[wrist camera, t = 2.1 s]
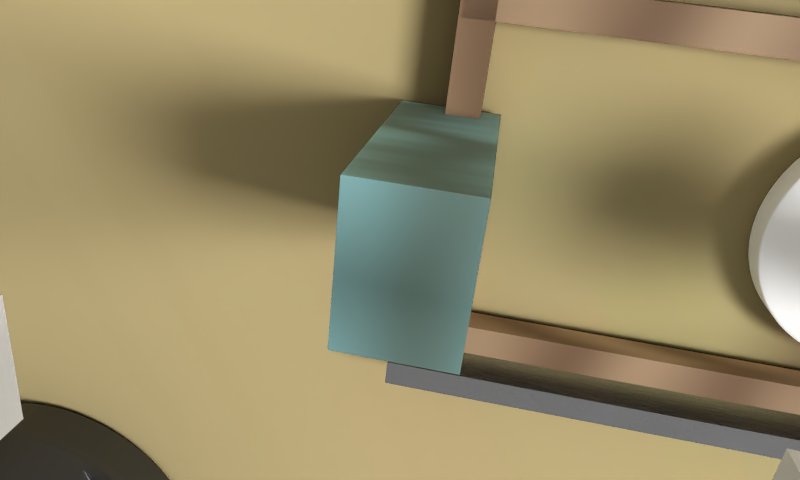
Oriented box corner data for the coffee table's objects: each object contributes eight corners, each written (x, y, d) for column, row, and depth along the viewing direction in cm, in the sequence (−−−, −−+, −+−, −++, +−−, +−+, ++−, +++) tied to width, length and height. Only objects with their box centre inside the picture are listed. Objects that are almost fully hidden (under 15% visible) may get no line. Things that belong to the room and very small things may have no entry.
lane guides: (393, 355, 28) (385, 382, 27) (448, -87, 21) (441, -91, 19) (1022, 473, 26) (1060, 513, 24) (1330, 12, 18) (1418, 17, 17)
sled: (378, 320, 27) (318, 473, 19) (416, -30, 22) (354, -24, 14) (1011, 436, 25) (1253, 670, 17) (1244, 70, 19) (1788, 154, 11)
